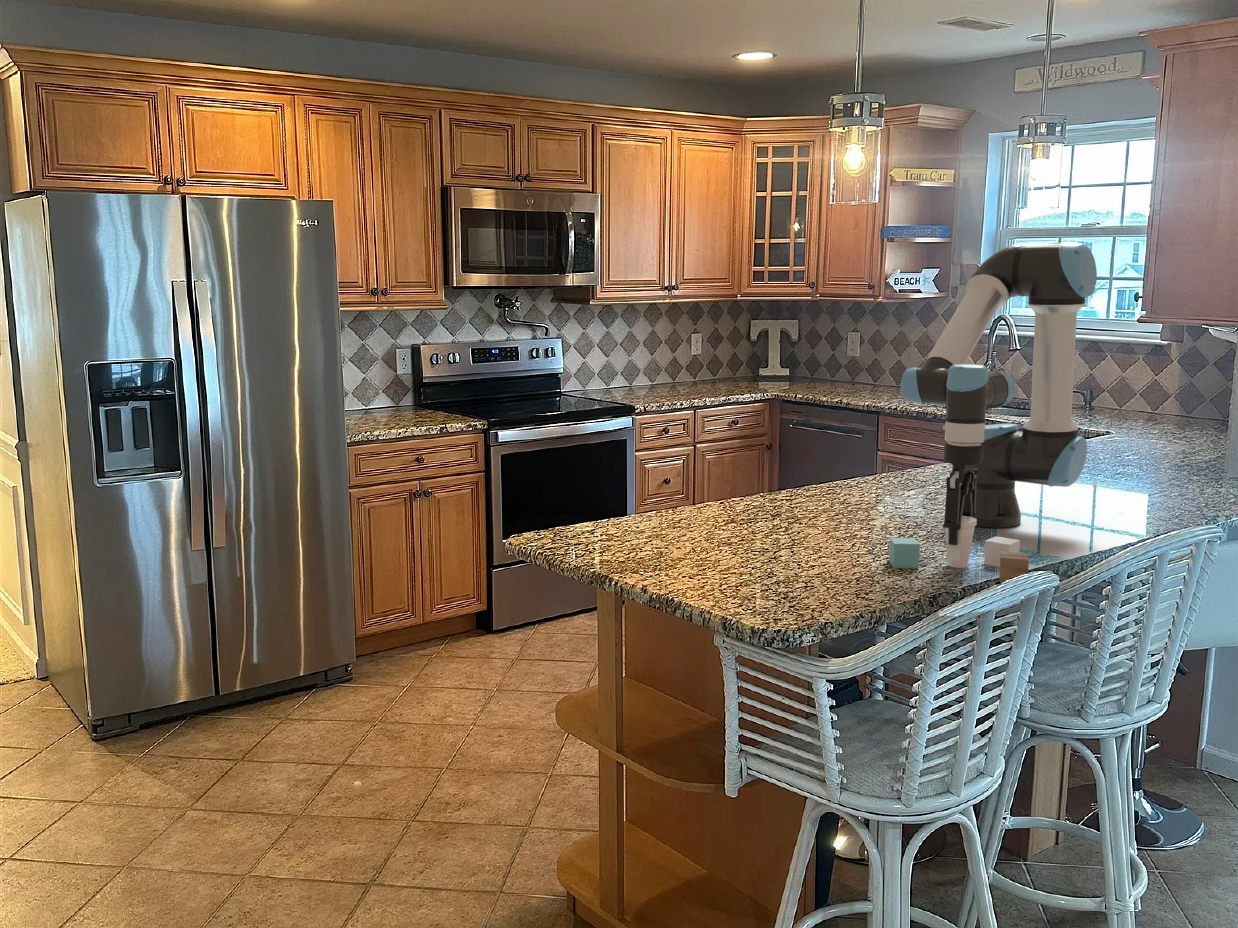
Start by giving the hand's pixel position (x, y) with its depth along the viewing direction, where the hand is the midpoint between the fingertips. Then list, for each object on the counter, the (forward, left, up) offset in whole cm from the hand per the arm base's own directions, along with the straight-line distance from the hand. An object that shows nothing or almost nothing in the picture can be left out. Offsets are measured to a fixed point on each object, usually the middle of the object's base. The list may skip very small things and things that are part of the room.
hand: (958, 556), depth 216 cm
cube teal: (+5, -9, -2) cm, 11 cm away
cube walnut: (+5, +12, -2) cm, 13 cm away
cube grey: (-6, +7, -2) cm, 9 cm away
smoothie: (0, 0, -2) cm, 2 cm away
